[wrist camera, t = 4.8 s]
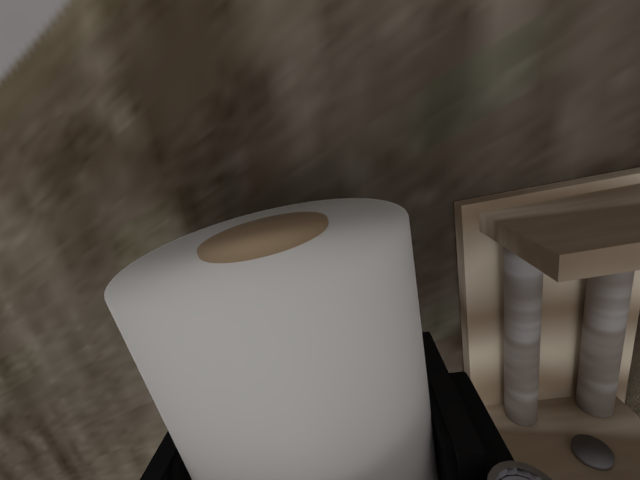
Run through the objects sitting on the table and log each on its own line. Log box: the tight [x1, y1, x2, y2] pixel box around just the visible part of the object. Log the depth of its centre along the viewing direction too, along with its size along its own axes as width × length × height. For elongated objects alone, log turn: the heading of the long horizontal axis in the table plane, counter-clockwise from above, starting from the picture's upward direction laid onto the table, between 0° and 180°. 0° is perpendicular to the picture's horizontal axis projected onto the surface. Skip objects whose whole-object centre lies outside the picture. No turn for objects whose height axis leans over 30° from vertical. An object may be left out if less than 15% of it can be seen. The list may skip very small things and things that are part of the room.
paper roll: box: [104, 198, 439, 480], centre depth 8 cm, size 12×6×6 cm, turn 12°
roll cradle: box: [454, 167, 640, 480], centre depth 18 cm, size 18×11×8 cm, turn 12°
